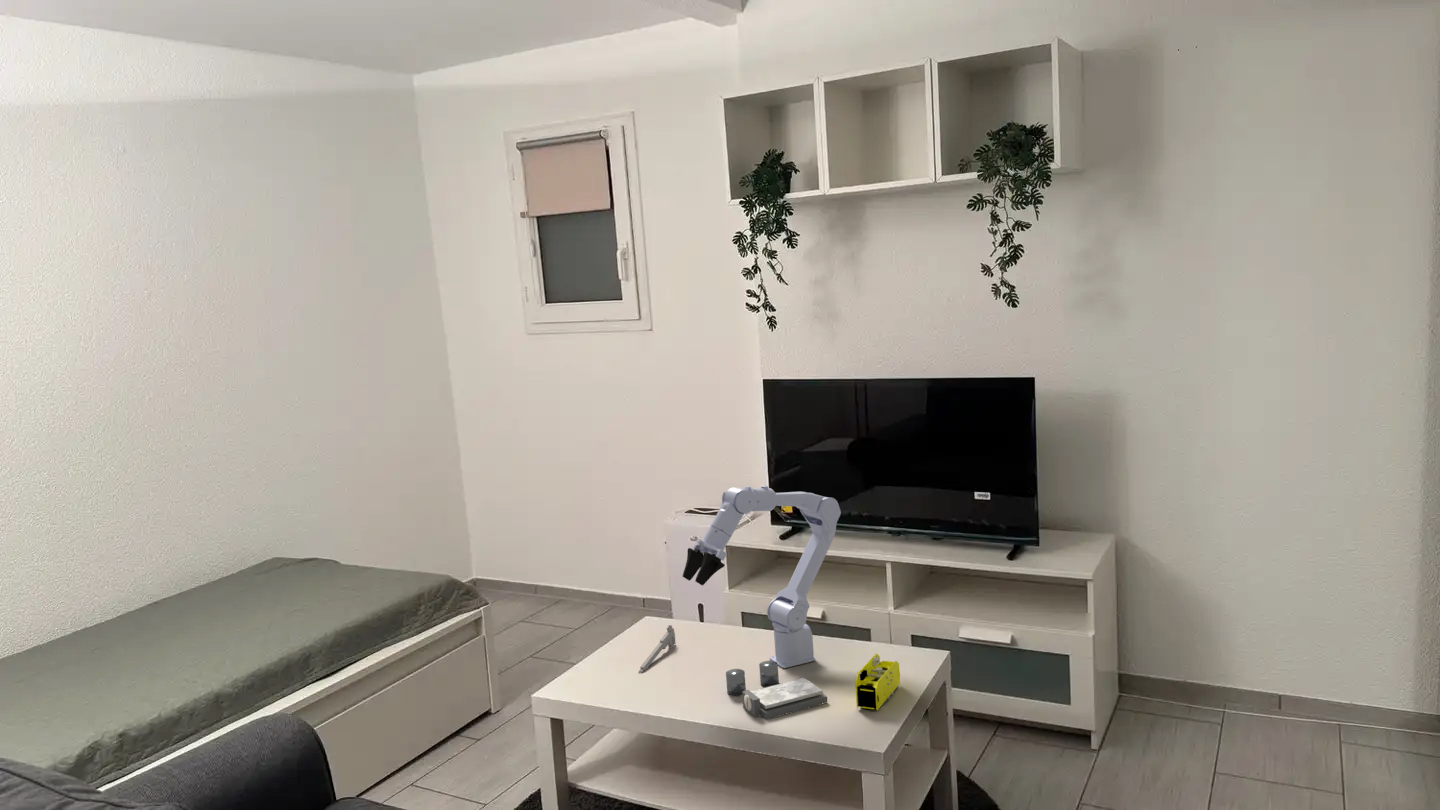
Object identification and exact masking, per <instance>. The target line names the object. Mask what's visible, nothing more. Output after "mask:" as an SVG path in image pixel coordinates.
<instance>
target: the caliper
mask: <svg viewBox="0 0 1440 810" xmlns="http://www.w3.org/2000/svg"><path fill="white" fill-rule="evenodd" d="M666 630H667V631H666V632H665V633H664V634H663V636H662V637H661V638H660V639H659V643H658V644H657V645H656V647H654V649H653V651H652V652H651V653H650V654H649V655H648V657H647V658H646V659H645V661H643V663H642V664H641V666H640V669H639V670H638V672H639V674H642V672H643V673H644V672H645V671H646V670H648V668H649V667H650V666H651V664H652V663H653V662H654V660H655V659H656V658H657V657H658V655H659V654H660V653H661V652H662V650H666V648H667V647H668V648H669V647H672V646H673V647H674V645H673V644H675V645H676V643H677V642H676V632H675V628H674V627H673V626H672V625H670V624H668V626H667V627H666ZM645 669H646V670H645ZM644 670H645V671H644Z"/></svg>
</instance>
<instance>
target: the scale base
mask: <svg viewBox="0 0 1440 810" xmlns="http://www.w3.org/2000/svg"><path fill="white" fill-rule="evenodd" d="M741 696H742V708H743V709H744V710H745V709H746V712H748V713H749V712H750V713H749V714H750V715H751V714H752V715H751V716H753V717H754V718H757V717H760V716H759V715H761V717H762V716H763V717H762V718H764V719H765V720H769V719H768V718H770V719H773V718H776V717H775V716H777V717H780V716H779V715H781V716H784V715H787V714H786V713H788V714H791V713H790V712H792V713H795V712H798V711H797V710H799V711H802V710H801V709H803V710H805V708H806V709H809V708H808V707H810V708H814V707H816V705H817V706H820V705H819V704H821V705H823V704H822V703H825V702H828V696H827V695H825V694H824V693H823V694H820V695H817V696H813V697H809V698H805V699H802V700H798V701H794V702H791V703H787V704H783V705H779V706H776V707H772V708H768V709H765V708H763V707H762V706H761V705H760V698H758V697H757V696H756V695H754V694H753V693H752V692H751V690H749V689H746V691H742V695H741ZM825 704H826V703H825ZM813 706H814V707H813ZM794 711H795V712H794ZM783 714H784V715H783ZM756 716H757V717H756ZM772 717H773V718H772Z"/></svg>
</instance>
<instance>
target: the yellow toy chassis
mask: <svg viewBox="0 0 1440 810" xmlns="http://www.w3.org/2000/svg"><path fill="white" fill-rule="evenodd" d="M900 676H901V671H900V663H899V662H898V661H897V660H895V661H889V660H882V661H881V656H880V655H879V654H878V653H875V654H874V655H872V657H871V658H870V659H869V660H868V661H867V662H866V663H865V664H864V666H863V667H862V668H861V669H860V670H859V671H858V672H857V675H856V679H855V683H854V684H855V698H856V699H855V700H856V709H857V708H860V709H863V708H864V710H869V709H870V710H869V711H875V710H876V711H878V710H880V708H881V707H882V705H883V704H884V703H885V702H886V701H887V700H889V699H890V696H891V695H894V691H895V690H896V689H897V688H898V686H899V685H900V684H901V678H900Z"/></svg>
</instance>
